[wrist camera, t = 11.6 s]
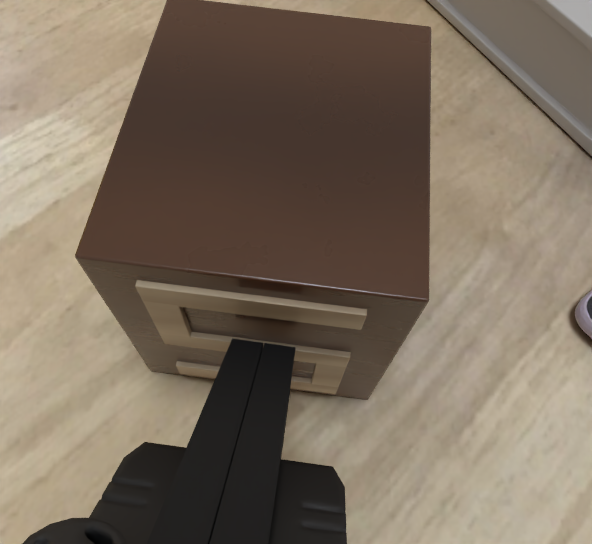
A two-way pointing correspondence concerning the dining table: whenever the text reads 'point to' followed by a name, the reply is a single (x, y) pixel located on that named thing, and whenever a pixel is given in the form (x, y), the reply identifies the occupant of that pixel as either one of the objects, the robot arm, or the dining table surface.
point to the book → (536, 52)
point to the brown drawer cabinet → (270, 193)
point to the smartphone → (585, 314)
